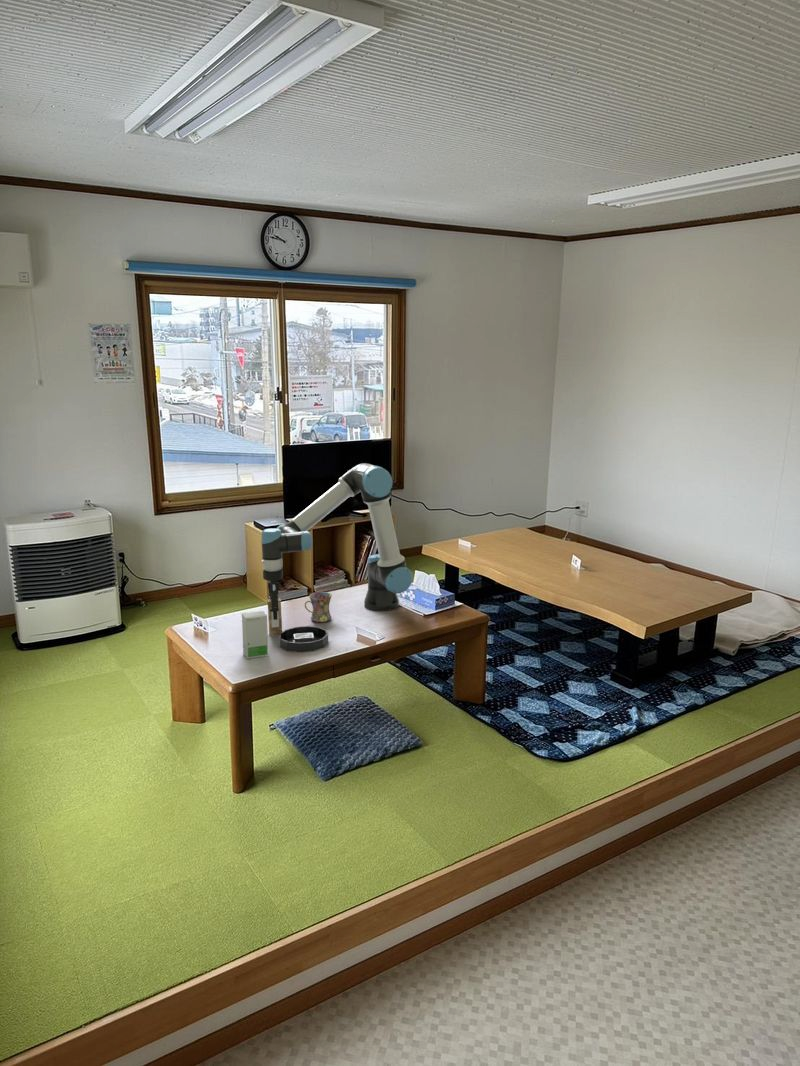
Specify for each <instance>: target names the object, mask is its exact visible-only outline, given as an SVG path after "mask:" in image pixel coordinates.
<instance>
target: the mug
mask: <svg viewBox="0 0 800 1066" xmlns="http://www.w3.org/2000/svg"><path fill="white" fill-rule="evenodd" d="M308 597H309V599H310V600H306V601H305V603H304V608H305V609H306V610H307V611H308V612H309V613H311V617H310V619H311V621H313V622H317V623H324V622H325V623H326V622H328V621H330V620H331V619H332V615H331V613H330V602H331V598H332V597H333V595H332V594H331V593H330V592H325V591H324V592H323V591H320V592H319V591H318V592H313V593H311V594H309V596H308ZM308 603H311V605H312V611H311V610H309V609H308V607H307V604H308Z"/></svg>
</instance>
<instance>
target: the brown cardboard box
mask: <svg viewBox="0 0 800 1066" xmlns="http://www.w3.org/2000/svg"><path fill="white" fill-rule="evenodd" d="M275 608H277V607H275ZM270 609H272V607H271V599H270V598H269V599H268V598H267V621H268V634H269V635H268V637H272V636H279V634H280V633H281V632H283V619H282V618H283V617H282V600H281V598H278V609H279V627H272V616H271V612H270Z"/></svg>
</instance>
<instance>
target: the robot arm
mask: <svg viewBox="0 0 800 1066" xmlns="http://www.w3.org/2000/svg"><path fill="white" fill-rule="evenodd" d="M392 489H393V478H392V475H391V474H390V472H389V471H388V470H387V469H385V468H383V467H382V466H379V465H374V464H371V463H367V462H364V463H363V462H361V463H359V464H356V465H355V466H353V467H352V468H351V469H349V470H347V472H345V473H344V474H343V475H342V476H340V477H339V478H338V481H337V483H336V484H334V485H333V486H332V487H330V488H329V489H328V490H327V491H326V492H324V493H323V494H322V495H321V496H319V497H318V498H317V499H315V500H314V501H313V502H312V503H311V504H310V505H308V506H307V507H306V508H305V509H303V510H302V511H301V512H299V513H298V514H297V515H296V516H294V517H293V518H292V519H291V520H290V521H288V522H287V523H282V524H280V525H279V526H277V527H276V528H275V527H274V528H265V529H263V530H262V531H261V539H260V540H261V541H260V542H261V554H262V555H261V556H262V557H261V558H262V560H260V563H261V564H262V569H263V570H262V579H263V580H264V581H267V582H268V581H269V582H268V583H267V588H268V593H269V594H268V595H269V599H271V607H272V609H270V612H271V616H272V627H279V609H278V599H279V596H278V595H279V587H280V586H279V585H280V583H279V582H278V581H280V580H282V579H283V577H284V574H283V565H284V564H283V554H285V553H286V554H287V553H295V552H296V553H297V552H304V551H309V550H311V549H312V547H313V536H312V533H311V532H310V531H309V530H311V528H312V527H314V526H315V525H317V524H318V523H319V522H320V521H321V520H324V518H325V517H326V516H327V515H329V514H330V513H331V512H333V511H334V510H335V509H336V508H338V507H339V506H340V505H341V504H342V503H344V502H345V501H346V500H347V499H348V498H350V497H352V498H353V497H355V496H356V495H357V494H359V493H361V497H362V502H363V503H364V504H365V505H367V507H368V511H369V516H370V521H371V525H372V530H373V533H374V538H375V543H376V547H377V552H378V553H376V554H371V555H369V556H368V557H367V563H366V564H367V592H366V594H365V598H364V603H363V604H364V608H366V609H367V610H370V611H375V612H386V611H387V612H388V611H392V610H396V609H397V608H399V605H400V599H399V596H398V594H402V593H404V592H406V591H407V590H408V589H409V588H410V587H411V585H412V583H413V579H414V577H413V573H412V571H411V570H410V569H409V568H408V567H407V564H406V558H405V556H403V555H402V554H401V553H400V548H399V544H398V539H397V534H396V529H395V526H394V525H395V524H394V521H393V519H394V518H393V515H392V509H391V506H390V501H389V500H390V499H391V497H392V493H391V490H392ZM275 607H277V608H275Z"/></svg>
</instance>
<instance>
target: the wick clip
mask: <svg viewBox="0 0 800 1066" xmlns="http://www.w3.org/2000/svg"><path fill="white" fill-rule="evenodd" d="M293 641H294V642H296V643H304V642H313V641H314V636H313V633H301V634H294V640H293Z"/></svg>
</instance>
